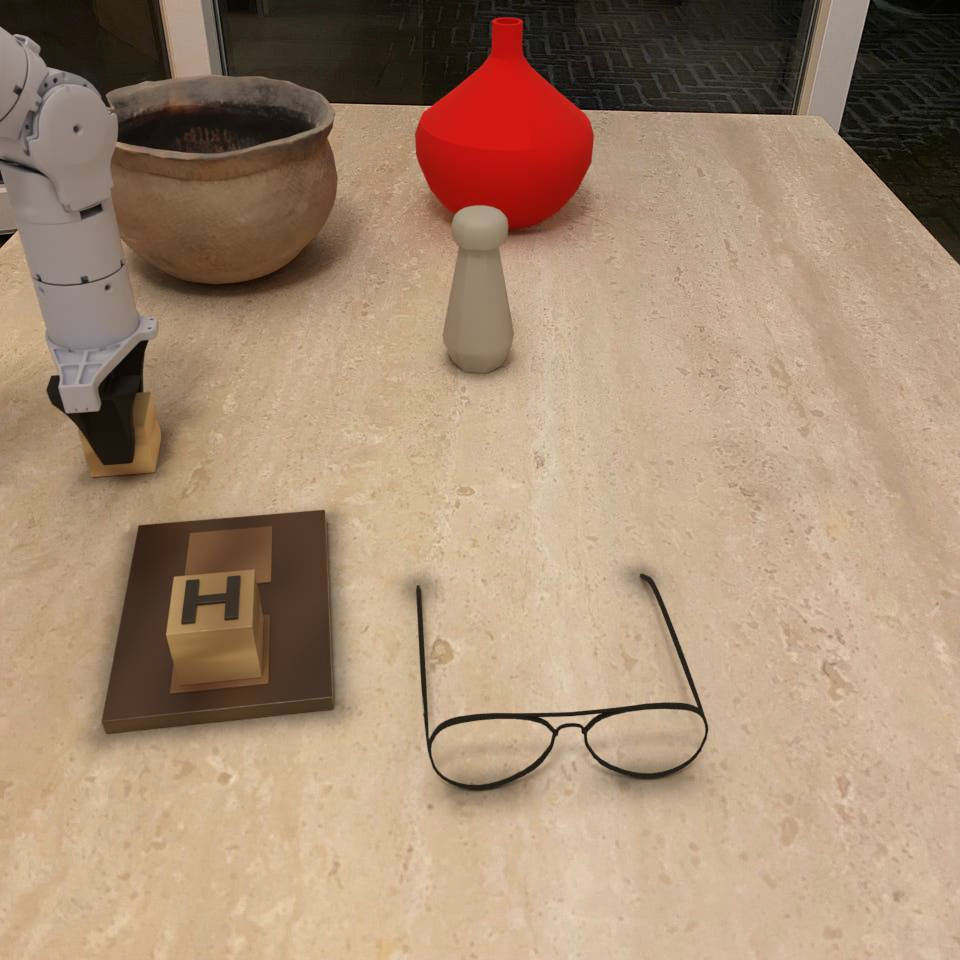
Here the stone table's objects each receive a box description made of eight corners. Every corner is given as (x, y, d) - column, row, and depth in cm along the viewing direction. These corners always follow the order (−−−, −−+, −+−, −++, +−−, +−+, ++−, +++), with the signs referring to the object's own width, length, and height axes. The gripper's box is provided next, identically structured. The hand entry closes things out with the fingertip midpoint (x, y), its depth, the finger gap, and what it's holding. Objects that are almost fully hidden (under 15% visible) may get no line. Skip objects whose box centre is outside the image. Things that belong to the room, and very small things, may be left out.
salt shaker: (435, 348, 85) (432, 200, 77) (499, 338, 86) (503, 192, 78) (454, 384, 80) (454, 231, 72) (522, 373, 82) (528, 222, 74)
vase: (622, 212, 108) (642, 22, 96) (508, 265, 97) (515, 59, 85) (497, 167, 118) (501, -10, 106) (381, 211, 107) (371, 20, 95)
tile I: (90, 477, 70) (76, 428, 67) (100, 441, 74) (87, 393, 71) (155, 472, 71) (143, 423, 68) (161, 436, 74) (151, 388, 71)
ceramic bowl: (115, 228, 103) (81, 77, 94) (325, 207, 108) (312, 61, 98) (116, 332, 86) (74, 161, 77) (365, 301, 91) (353, 136, 82)
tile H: (179, 686, 54) (164, 632, 51) (185, 627, 57) (173, 573, 55) (261, 677, 55) (251, 623, 52) (263, 619, 58) (254, 566, 55)
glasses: (426, 795, 50) (422, 722, 47) (416, 609, 63) (414, 543, 60) (705, 776, 51) (718, 704, 48) (641, 597, 64) (647, 532, 61)
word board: (105, 734, 53) (100, 720, 52) (141, 536, 65) (137, 523, 65) (333, 709, 54) (332, 696, 54) (326, 520, 67) (324, 507, 66)
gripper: (129, 317, 58) (171, 499, 66) (156, 215, 69) (189, 382, 77) (0, 324, 57) (59, 508, 65) (49, 220, 68) (94, 389, 76)
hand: (123, 441), depth 71 cm, fingers closed on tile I, 4 cm apart
